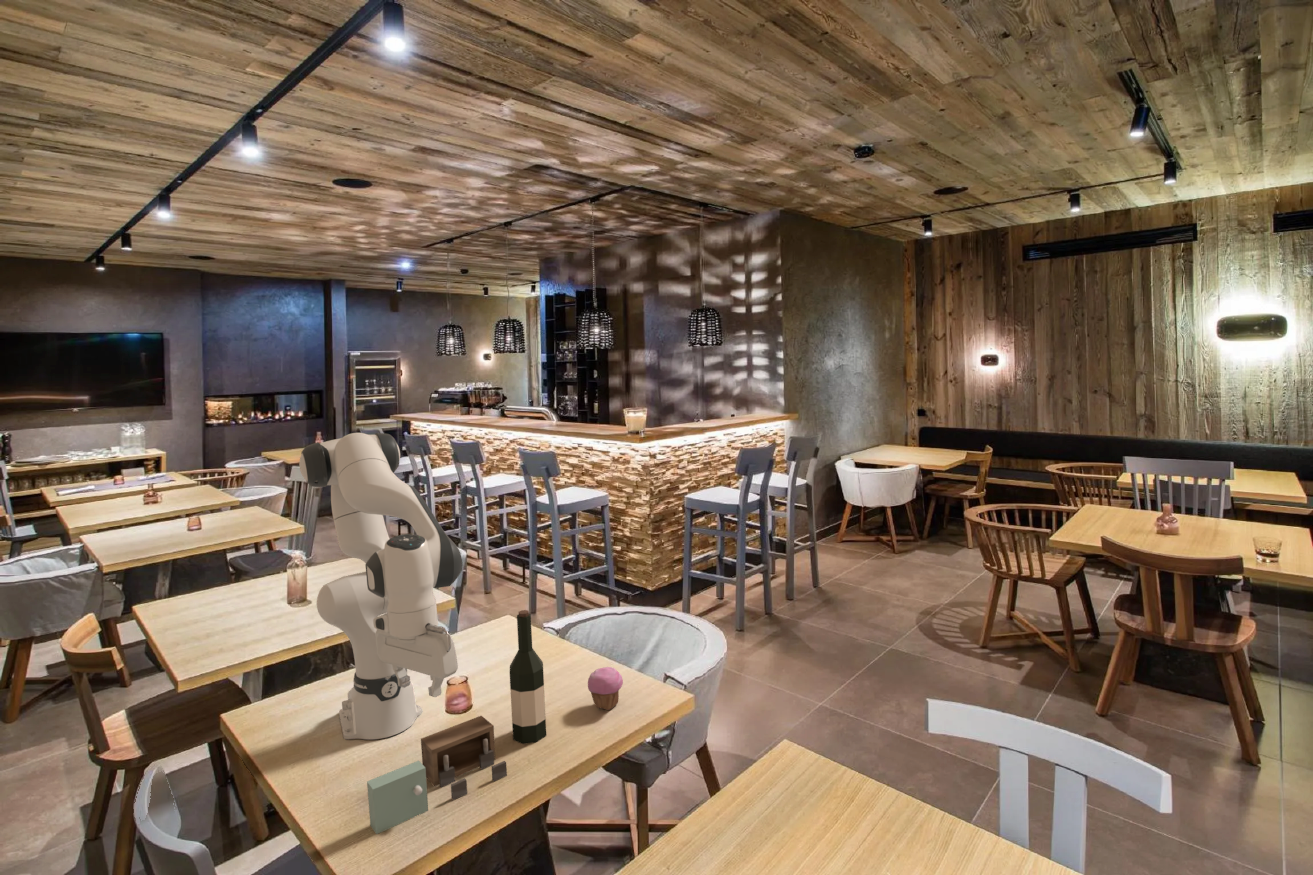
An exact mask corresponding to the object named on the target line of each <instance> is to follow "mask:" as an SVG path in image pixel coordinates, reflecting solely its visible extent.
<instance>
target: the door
mask: <svg viewBox="0 0 1313 875" xmlns="http://www.w3.org/2000/svg"><path fill="white" fill-rule="evenodd" d="M366 782H367V783H366V786H367V787H366V788H367V799H368V810H369V811H368V813H369V825H370V827H371V829H372V830H373V831H374V833H375V834H376V835H378V834H380V833H383V832H385V831H388V830H390V829H391V827H392V828H393V827H396V826H398V825H400V824H402V823H405V822H406V821H408V819H409V820H411V819H413V818H416V817H418V816H420V815H422V814H425V813H426V812H428V811H429V798H428V784H427V778H426V768H425V767H424V766H423V764H422V761H420V760H416V761H414V762H412V763H409V764H406V765H404V766H401V767H398V768H396V769H394V770H392V771H390V772H387V773H385V774H382V775H380V776H377V777H374V778H372V779H370V780H367V781H366ZM419 814H420V815H419ZM417 815H418V816H417ZM415 816H416V817H415ZM410 818H411V819H410ZM404 821H405V822H404Z"/></svg>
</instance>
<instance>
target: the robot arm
mask: <svg viewBox="0 0 1313 875" xmlns="http://www.w3.org/2000/svg"><path fill="white" fill-rule="evenodd" d="M299 458H300V459H299V461H298V462H299V465H298V466H299V470H300V474H301V475H302V478H304V480H305V481H306V484H308V485H310V486H311V487H314V488H326V487H328V486H330V501H331V504H330V505H331V513H332V518H333V523H334V527H335V528H334V529H335V533H336V537H337V543H338V546H339V549H340V551H341V552H342V553H343V554H344V555H346V556H348V557H350V558H354V559H358V560H361V561H363V562H364V563H365V564H364V565H365V571H362V572H359V573H358V572H357V573H355V574H354V573H353V574H350V575H349V574H347V575H344V576H342V577H339V578H337V579H334V580H332V581H330V582H328V583H326V584H325V583H324V585H322V587H321V588H320V590H319V591H318V594H317V596H316V610H317V612H318V615H319V616H320V618H321V619H322V620H323V621H324V622H326V623H327V624H328V625H331V626H333V627H336V628H338V629H339V630H341V631H342V632H343V633H344V634H345V635H346V637H347V638H348V641H350V644H351V647H352V652H353V658H354V659H353V660H354V667H355V668H354V669H355V673H354V676H353V680H352V682H353V687H352V688H350V689H349V690H348V692H347V699H346V700H342V701H341V707H342V708H341V709H339V712H338V717H339V721H340V726H341V730H342V731H341V732H342V736H343V740H354V739H355V740H356V739H360V740H379V739H384V738H385V739H386V738H389V737H392V736H395V735H398V734H400V733H402V732H404V731H406V730H407V729H409V728H410V727H411V726H412V725H413V724H414V722H415V721H416V718H418V717H419V716H420V715H421V714H423V707H422V706H420V705H418V704H417V703H416V702H417V701H416V694H415V687H414V683H413V682H411V676H410V675H408V670H410V671H414V672H416V673H420V674H424V675H426V676H430V677H429V678H430V681H432V682H431V685H430V686H429V687H428V690H427V691H428V695H429V696H430V697H432V698H437V697H439V696H441V695H442V685H443V682H444V680H445V678H448V677H451V676H453V675H454V674H456V672H457V671H458V669H459V667H458V666H459V663H458V657H457V651H456V646H455V642H454V639H453V638H452V636H451V634H450V633H449V632H448V630H447V629H446V627H444V626H439V620H438V609H437V608H438V607H437V598H436V597H435V594H434V589H441V588H448V587H451V586H452V585H453V584H454V583H455V581H457V579H458V577H459V576H460V575H461V573H462V570H463V566H464V565H463V557H462V553H461V551H460V549H459V547H458V546H457V545H456V543H455V542H454V541H453V540H452V539H451V538H450V537H449V535H447V533H446V531H445V530H444V529H443V528H442V526H441V524H440V522H439V521H438V520H437V517H435V515H434V513H433V512H432V510H431V509H430V507H429V505H428V504H427V503H426V501H425V500H424V497H422V495H421V493H420V492H419V491H418V490H417V489H416V487H414V486H413V485H411V484H408V483H406V482H404V481H403V480H402V479H400V478H399V477H397V476H398V475H396V474H395V471H396V470H397V469H398V468H399V466H400V460H401V450H400V447H399V445H398V442H397V441H396V438H394V437H393V436H392V435H391V434H389V433H384V432H380V433H379V432H376V433H374V434H367V433H364V432H353V433H352V432H351V433H349V434H346V435H343V437H341V438H336V439H331V440H327V441H323V442H320V443H319V442H318V441H317V442H314V443H312V444H309V445H307V446H305V447H304V448H303V449H302V451H301V454H300V457H299ZM384 516H388V517H393V518H399V519H401V520H404V521H406V522H407V523H409V525H411V527H412V528H413V530H414V532H415V534H411V533H409V534H408V533H407V534H406V533H405V534H400V535H396V536H393V537H390V536H389V533H388V530H387V525H386V522H385V519H384Z"/></svg>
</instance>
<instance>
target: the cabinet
mask: <svg viewBox="0 0 1313 875" xmlns="http://www.w3.org/2000/svg"><path fill="white" fill-rule="evenodd" d="M495 745H496V744H495V728H494V724H492V723H491V722H490V721H488V720H487V719H486V718H485V717H484V716H483V715H478V716H477V717H474V718H471V719H468V720H466V721H464V722H460V723H458V724H456V725H453V726H451V727H447V728H445V729H442V730H439V731H438V732H435V733H432V734H430V735H428V736H427V735H426V736H423V737H422V738H420V747H421V758H422V759H421V760H422V761H421V763H422V764H423V766H424V767H425V768H426V780H428V781H429V782H430V783H431V784H432V786H433V787H436V786H440V787H441V788H442V787H446V786H447V785H448V786H449V785H450V793H451V800H452V801H455V800H457V799H459V798H461V797H463V796H466V795H468V786H467V785H468V784H467V779H466V778H462V779H460V780H458V781H456V778H457V777H459V776H461V775H463V774H466V773H468V772H471V771H473V770H475V769H478V768H479V769H480V770H484V769H487V768H489V767H491V778H492V779H491V780H492V781H493V782H496V781H498V780H500V779H503V778H505V777H507V776H508V772H507V770H508V769H507V762H506V761H505V760H502V761H501V762H499V763H496V764H495V761H496V746H495Z"/></svg>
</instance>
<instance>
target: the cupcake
mask: <svg viewBox="0 0 1313 875" xmlns="http://www.w3.org/2000/svg"><path fill="white" fill-rule="evenodd" d="M623 684H624V679H623V676H622V674H621V673H620V672H619V671H618V670H617V669H616V668H615V667H612V666H603V667H600V668H597V669H595V670H594V671H593V672H590V675H589V677H588V678H587V689H588V691H589V692H590V693H591V698H592V701H593V703H594V705H595V706H596V707H597V709H603V710H606V711H609V710H612V709H613V708H614V707H615V706H617V704H618V703H619V700H620V699H619V697H620V696H619V691H620V689H621V688H622V687H623Z"/></svg>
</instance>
